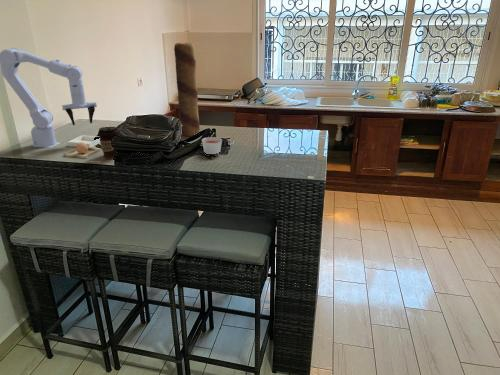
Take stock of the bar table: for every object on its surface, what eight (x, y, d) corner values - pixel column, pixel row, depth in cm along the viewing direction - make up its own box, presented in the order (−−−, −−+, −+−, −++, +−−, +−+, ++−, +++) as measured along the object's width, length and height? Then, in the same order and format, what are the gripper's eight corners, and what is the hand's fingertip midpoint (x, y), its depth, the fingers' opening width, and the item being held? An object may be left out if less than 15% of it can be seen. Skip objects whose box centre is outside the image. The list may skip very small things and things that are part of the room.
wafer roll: (175, 134, 204) (169, 42, 185) (189, 130, 212) (184, 41, 193) (189, 137, 198) (185, 44, 180) (203, 133, 206) (200, 43, 188)
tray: (64, 157, 169) (63, 154, 169) (79, 149, 179) (79, 146, 179) (86, 159, 167) (86, 156, 167) (101, 151, 177) (100, 148, 176)
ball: (74, 154, 172) (71, 144, 169) (81, 150, 176) (79, 140, 174) (84, 155, 170) (81, 144, 168) (91, 151, 175) (88, 140, 172)
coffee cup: (115, 161, 166) (111, 131, 161) (97, 159, 167) (92, 130, 162) (125, 154, 174) (121, 126, 168) (108, 153, 175) (104, 124, 170)
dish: (68, 147, 182) (67, 141, 181) (82, 140, 192) (82, 135, 191) (90, 149, 180) (89, 143, 179) (103, 141, 190) (102, 137, 189)
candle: (211, 158, 171) (211, 144, 168) (198, 153, 177) (197, 140, 174) (226, 153, 177) (226, 140, 175) (212, 149, 183) (212, 136, 180)
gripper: (61, 97, 171) (67, 127, 176) (96, 94, 178) (100, 123, 183) (59, 94, 176) (64, 124, 182) (93, 92, 183) (97, 120, 189)
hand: (82, 123), depth 183 cm, fingers open, 7 cm apart
